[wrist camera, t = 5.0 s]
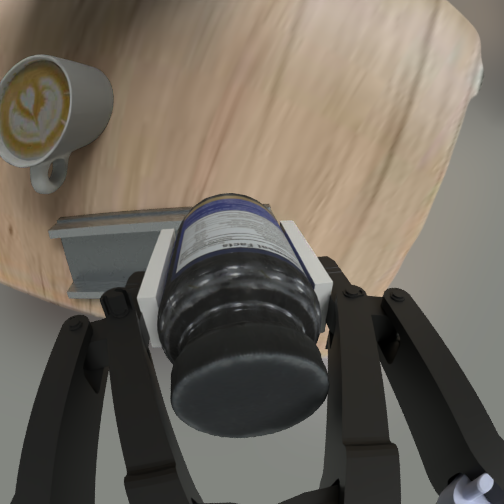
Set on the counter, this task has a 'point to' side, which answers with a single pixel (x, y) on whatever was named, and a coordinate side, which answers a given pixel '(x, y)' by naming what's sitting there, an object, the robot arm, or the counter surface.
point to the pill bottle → (240, 323)
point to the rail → (112, 246)
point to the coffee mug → (51, 115)
